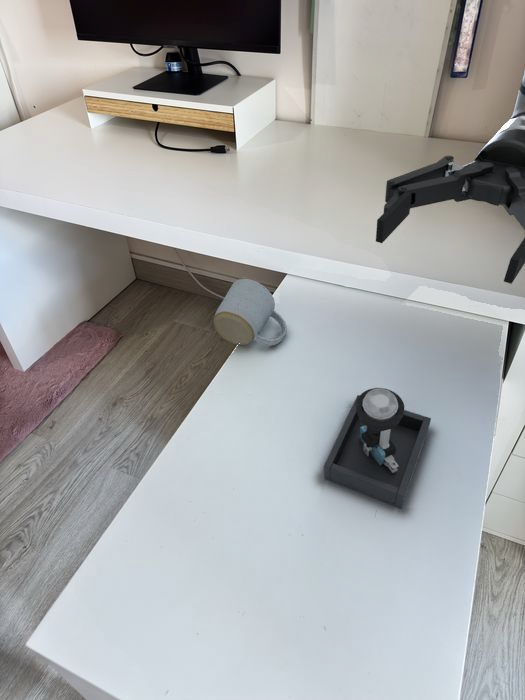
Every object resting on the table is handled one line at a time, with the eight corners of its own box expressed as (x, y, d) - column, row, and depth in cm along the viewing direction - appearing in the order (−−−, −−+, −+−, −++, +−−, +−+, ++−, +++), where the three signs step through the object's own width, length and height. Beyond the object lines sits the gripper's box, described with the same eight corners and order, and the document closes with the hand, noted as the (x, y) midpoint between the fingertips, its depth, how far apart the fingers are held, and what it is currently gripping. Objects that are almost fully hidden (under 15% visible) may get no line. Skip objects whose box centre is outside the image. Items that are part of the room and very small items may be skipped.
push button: (412, 464, 61) (423, 416, 54) (375, 483, 60) (381, 437, 53) (380, 425, 66) (386, 375, 59) (345, 442, 65) (347, 394, 57)
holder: (427, 431, 65) (431, 418, 63) (401, 509, 58) (404, 496, 56) (356, 408, 69) (357, 394, 66) (324, 478, 62) (323, 466, 60)
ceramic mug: (214, 342, 80) (206, 306, 74) (235, 309, 85) (229, 273, 79) (275, 358, 77) (272, 322, 71) (294, 322, 82) (292, 286, 76)
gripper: (422, 110, 64) (333, 187, 53) (648, 148, 52) (593, 256, 42) (415, 166, 70) (333, 245, 59) (618, 212, 58) (563, 322, 47)
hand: (440, 250), depth 50 cm, fingers open, 13 cm apart
